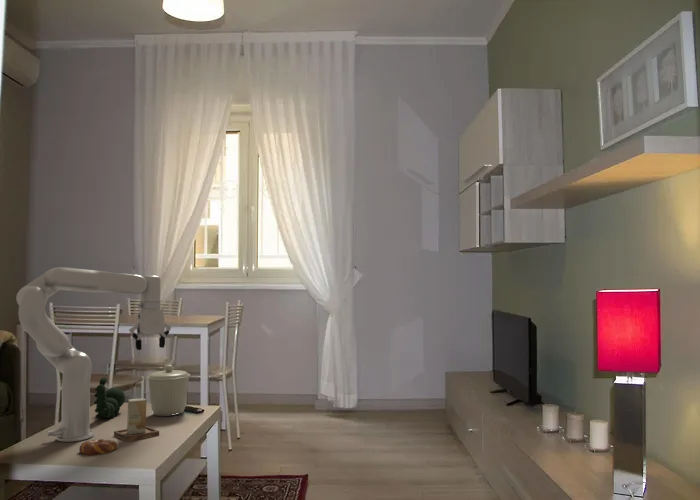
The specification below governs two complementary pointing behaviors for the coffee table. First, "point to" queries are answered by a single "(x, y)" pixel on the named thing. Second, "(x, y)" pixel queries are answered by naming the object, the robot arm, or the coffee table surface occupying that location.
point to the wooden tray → (125, 436)
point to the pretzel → (97, 447)
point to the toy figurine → (108, 400)
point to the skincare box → (136, 416)
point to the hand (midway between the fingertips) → (150, 348)
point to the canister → (168, 391)
